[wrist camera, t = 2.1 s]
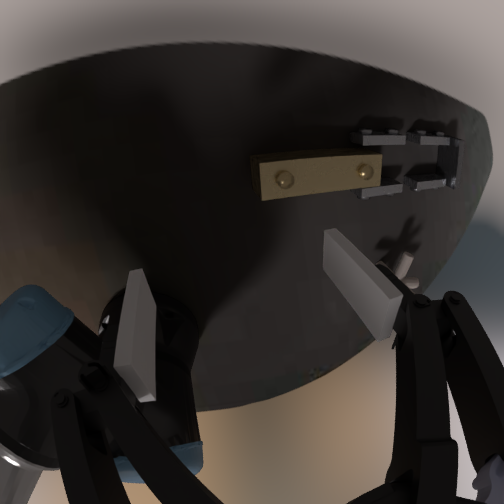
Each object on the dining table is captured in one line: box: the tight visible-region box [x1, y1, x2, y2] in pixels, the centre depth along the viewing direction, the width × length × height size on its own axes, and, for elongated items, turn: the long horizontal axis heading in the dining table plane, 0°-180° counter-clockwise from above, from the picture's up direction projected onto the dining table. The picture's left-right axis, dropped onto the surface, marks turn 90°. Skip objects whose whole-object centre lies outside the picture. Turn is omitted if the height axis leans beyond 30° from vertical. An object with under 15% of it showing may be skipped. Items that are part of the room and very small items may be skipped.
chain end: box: [349, 128, 406, 200], centre depth 33 cm, size 7×9×3 cm
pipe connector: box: [375, 252, 419, 294], centre depth 40 cm, size 10×10×10 cm
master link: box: [250, 147, 382, 201], centre depth 31 cm, size 15×4×5 cm, turn 95°
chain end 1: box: [404, 129, 465, 192], centre depth 34 cm, size 9×9×4 cm
